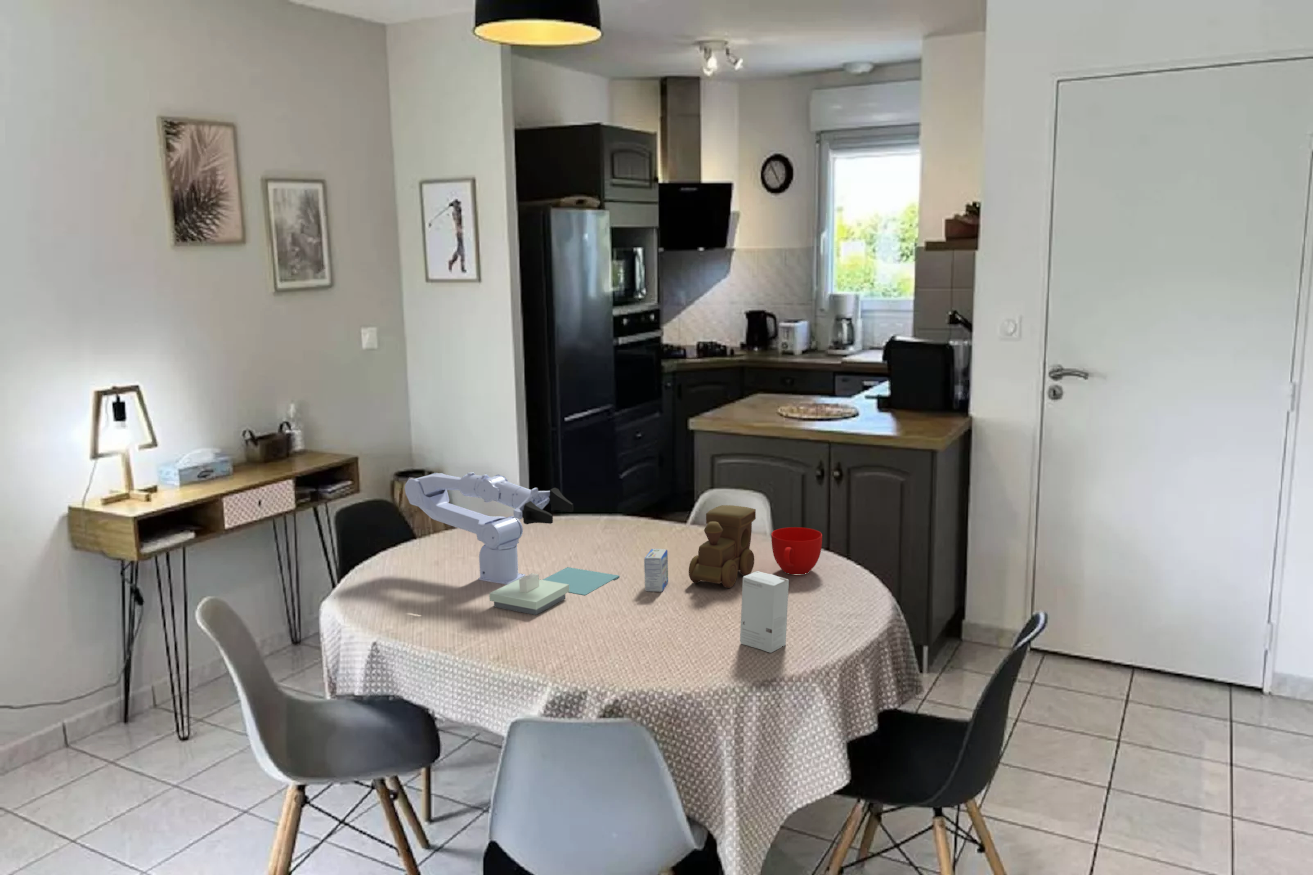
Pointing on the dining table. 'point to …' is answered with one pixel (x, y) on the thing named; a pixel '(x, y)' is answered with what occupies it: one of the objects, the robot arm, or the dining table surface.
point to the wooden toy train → (725, 546)
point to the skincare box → (764, 611)
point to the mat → (581, 579)
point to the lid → (529, 592)
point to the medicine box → (656, 570)
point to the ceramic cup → (796, 549)
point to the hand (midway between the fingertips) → (562, 513)
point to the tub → (528, 610)
